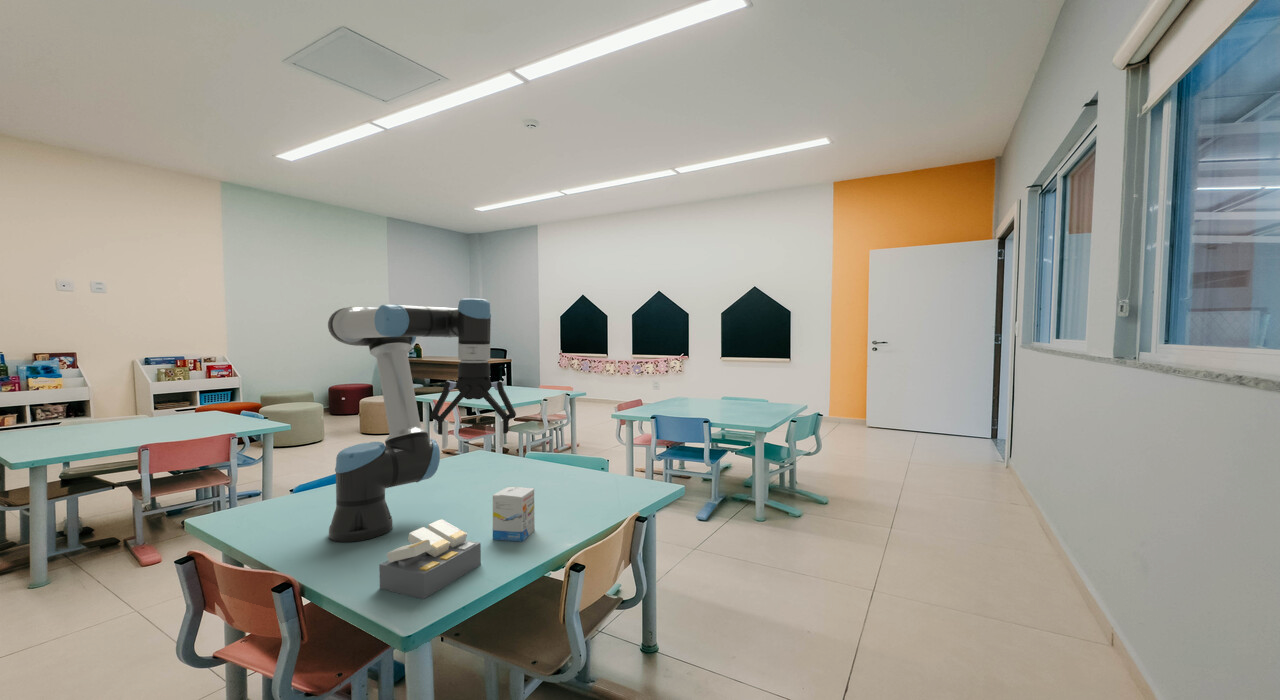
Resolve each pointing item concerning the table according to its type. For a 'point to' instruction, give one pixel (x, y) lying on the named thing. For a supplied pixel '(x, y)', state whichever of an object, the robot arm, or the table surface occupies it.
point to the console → (429, 570)
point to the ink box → (513, 514)
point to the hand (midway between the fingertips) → (473, 447)
